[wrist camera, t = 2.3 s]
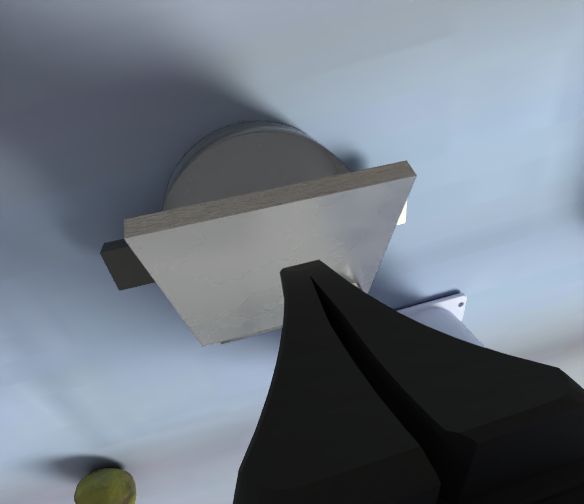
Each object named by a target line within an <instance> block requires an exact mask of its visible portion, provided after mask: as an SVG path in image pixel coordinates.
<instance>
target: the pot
mask: <svg viewBox="0 0 584 504" xmlns="http://www.w3.org/2000/svg"><path fill="white" fill-rule="evenodd" d="M349 172H350V171H349V170H348V169H347V168H346V166H345V165H344V164H343V163H342V162H341V161H340V160H339V159H338V158H337V157H336V156H335V155H334V154H333V153H331V152H330V151H329V150H327V149H326V148H325V147H323V146H322V145H321V144H319V143H318V142H317V141H315V140H314V139H313V138H311V137H310V136H308V135H307V134H305V133H304V132H302V131H300V130H298V129H296V128H294V127H290V126H287V125H284V124H281V123H275V122H270V121H249V122H241V123H237V124H233V125H229V126H226V127H224V128H221V129H219V130H216V131H214V132H213V133H211V134H209V135H207V136H206V137H204V138H203V139H201V140H200V141H199V142H198V143H196V144H195V145H194V146H193V147H192V148H191V149H190V150H189V151H188V152H187V153H186V154H185V155H184V156H183V158H182V159H181V160H180V162H179V163H178V165H177V166H176V168H175V170H174V172H173V174H172V176H171V178H170V181H169V184H168V187H167V190H166V195H165V201H164V206H163V211H166V210H171V209H176V208H181V207H186V206H190V205H195V204H200V203H205V202H210V201H214V200H219V199H224V198H229V197H234V196H239V195H243V194H248V193H253V192H258V191H263V190H267V189H272V188H277V187H282V186H287V185H291V184H296V183H301V182H306V181H311V180H315V179H320V178H325V177H330V176H335V175H339V174H344V173H349ZM406 207H407V200H406V203H405V205H404V208H403V210H402V212H401V215H400V217H399V220H398V222H397V224H396V225H398V224H403V223H405V222H406ZM100 254H101V256H102V258H103V260H104V262H105V264H106V266H107V268H108V270H109V272H110V274H111V276H112V278H113V279H114V281H115V283H116V285H117V287H118V289H119V291H120V290H124V289H128V288H132V287H137V286H141V285H145V284H149V283H153V282H155V281H154V279H153V278H152V276H151V275H150V274H149V272H148V271H147V270H146V268H145V267H144V265H143V264H142V263H141V261H140V260H139V259H138V257H137V256H136V254H135V253H134V252H133V250H132V249H131V248H130V246H129V245H128V244H127V242H126V241H125V239H121V240H117V241H112V242H108V243H104V245H103V247H102V250H101V252H100Z"/></svg>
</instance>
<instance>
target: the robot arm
mask: <svg viewBox="0 0 584 504" xmlns="http://www.w3.org/2000/svg"><path fill="white" fill-rule="evenodd" d="M280 278H281V284H282V290H283V296H284V316H283V325H282V334H281V341H280V347H279V352H278V357H277V362H276V366H275V370H274V374H273V378H272V381H271V385H270V388H269V392H268V395H267V398H266V401H265V404H264V407H263V410H262V413H261V416H260V419H259V421H258V424H257V427H256V430H255V432H254V435H253V437H252V439H251V442H250V444H249V447H248V449H247V451H246V454H245V456H244V458H243V461H242V463H241V466H240V468H239V471H238V477H237V483H236V489H235V494H234V500H233V504H584V389H583V388H582V387H581V386H580V385H578V384H577V383H576V382H575V381H574V380H573V379H571V378H570V377H569V376H568V375H567V374H566V373H564V372H563V371H562V370H561V369H559V368H557V367H553V366H549V365H545V364H542V363H538V362H534V361H530V360H526V359H522V358H518V357H515V356H511V355H507V354H504V353H500V352H497V351H494V350H491V349H488V348H486V347H485V346H484V345H483V344H482V343H481V342H480V341H479V340H478V339H477V338H476V336H475V335H474V334H473V333H472V332H471V331H470V330H469V329H468V328H467V327H466V326H465V325H464V324H463V323H462V318H463V314H464V309H465V304H466V299H467V296H466V295H465V294H464V293H459V294H455V295H451V296H448V297H444V298H441V299H437V300H433V301H430V302H426V303H423V304H419V305H415V306H412V307H408V308H404V309H401V310H397V311H395V310H393V309H392V308H390V307H388V306H386V305H385V304H383V303H381V302H379V301H378V300H376V299H374V298H373V297H371V296H370V295H368V294H367V293H365V292H364V291H362V290H361V289H359V288H358V287H356V286H355V285H353V284H352V283H350V282H349V281H348V280H346V279H345V278H343V277H342V276H341V275H339V274H338V273H337V272H335V271H334V270H333V269H331V268H330V267H329V266H327V265H326V264H325V263H323V262H322V261H321V260H315V261H311V262H306V263H302V264H298V265H294V266H290V267H286V268H282V270H281V271H280Z"/></svg>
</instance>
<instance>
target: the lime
mask: <svg viewBox="0 0 584 504" xmlns="http://www.w3.org/2000/svg"><path fill="white" fill-rule="evenodd" d="M135 500H136V487H135V482H134V480H133V477H132V476H131V475H130V473H128V472H127V471H123V470H120V469H114V468H103V469H99V470H96V471H94V472H92V473H90V474H88V475H87V476H86V477H84V478H83V479H82V480H81V481H80V482H79V483H78V485H77V488H76V491H75V495H74V501H75V503H76V504H135Z"/></svg>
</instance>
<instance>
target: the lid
mask: <svg viewBox="0 0 584 504" xmlns="http://www.w3.org/2000/svg"><path fill="white" fill-rule="evenodd" d="M416 176H417V175H416V174H415V172H414V171H413V169H412V168H411V166H410V165H409V163H408V162H407V161H402V162H397V163H392V164H388V165H383V166H378V167H373V168H368V169H363V170H359V171H354V172H349V173H344V174H339V175H335V176H330V177H325V178H320V179H315V180H311V181H306V182H301V183H296V184H291V185H287V186H282V187H277V188H272V189H267V190H263V191H258V192H253V193H248V194H243V195H239V196H234V197H229V198H224V199H219V200H214V201H210V202H205V203H200V204H195V205H190V206H186V207H181V208H176V209H171V210H166V211H162V212H157V213H152V214H147V215H142V216H138V217H133V218H128V219H124V239H125V241H126V242H127V244H128V245H129V246H130V248H131V249H132V250H133V252H134V253H135V254H136V256H137V257H138V259H139V260H140V261H141V263H142V264H143V265H144V267H145V268H146V270H147V271H148V272H149V274H150V275H151V276H152V278H153V279H154V281H155V282H156V283H157V285H158V286H159V287H160V289H161V290H162V291H163V293H164V294H165V296H166V297H167V298H168V300H169V301H170V302H171V304H172V305H173V307H174V308H175V309H176V311H177V312H178V313H179V315H180V316H181V318H182V319H183V320H184V322H185V323H186V324H187V326H188V327H189V328H190V330H191V331H192V333H193V334H194V335H195V337H196V338H197V339H198V341H199V342H200V344H201V345H202V346H206V345H210V344H214V343H218V342H220V343H221V344H225V343H228V342H232V341H236V340H240V339H243V338H247V337H251V336H254V335H258V334H262V333H266V332H269V331H273V330H277V329H280V328H282V325H283V316H284V296H283V290H282V284H281V278H280V271H281V270H282V268H286V267H290V266H294V265H298V264H302V263H306V262H311V261H315V260H321V261H322V262H323V263H325V264H326V265H327V266H329V267H330V268H331V269H333V270H334V271H335V272H337V273H338V274H339V275H341V276H342V277H343V278H345V279H346V280H348V281H349V282H350V283H352V284H353V285H355V286H356V287H358V288H359V289H361V290H362V291H364V292H365V293H367V294H368V292H369V289H370V287H371V285H372V282H373V280H374V277H375V275H376V273H377V270H378V268H379V265H380V263H381V261H382V258H383V256H384V253H385V251H386V249H387V246H388V244H389V241H390V239H391V237H392V234H393V232H394V229H395V227H396V224H397V222H398V220H399V217H400V215H401V212H402V210H403V208H404V205H405V203H406V200H407V198H408V196H409V193H410V191H411V188H412V186H413V184H414V181H415V179H416Z"/></svg>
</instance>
